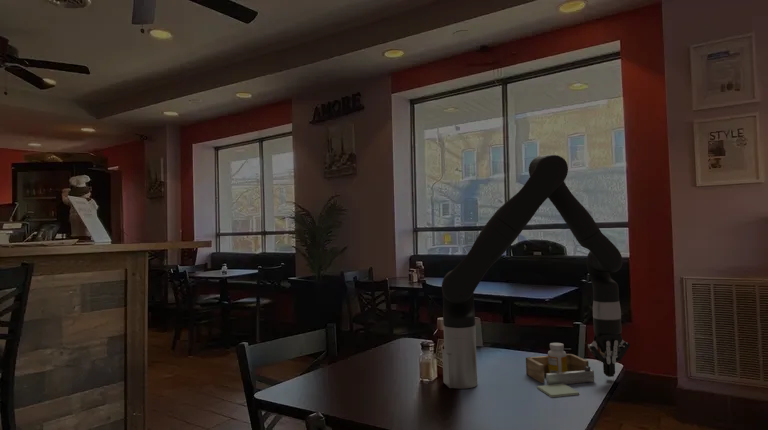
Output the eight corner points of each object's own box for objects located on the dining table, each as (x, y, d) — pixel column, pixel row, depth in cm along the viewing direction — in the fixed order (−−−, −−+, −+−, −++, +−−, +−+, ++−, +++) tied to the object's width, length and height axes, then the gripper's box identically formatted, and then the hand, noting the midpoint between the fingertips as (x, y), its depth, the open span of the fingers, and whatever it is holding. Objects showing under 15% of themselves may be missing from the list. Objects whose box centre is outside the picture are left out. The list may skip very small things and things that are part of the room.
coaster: (551, 397, 137) (551, 395, 137) (537, 388, 145) (537, 386, 145) (579, 394, 138) (579, 392, 138) (563, 385, 146) (563, 383, 146)
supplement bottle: (565, 373, 157) (563, 341, 157) (569, 379, 152) (568, 346, 152) (546, 374, 158) (545, 342, 158) (550, 379, 152) (549, 346, 153)
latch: (549, 385, 146) (548, 371, 146) (546, 384, 148) (545, 370, 148) (594, 381, 148) (593, 367, 149) (591, 379, 150) (590, 366, 150)
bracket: (540, 382, 150) (539, 365, 150) (526, 373, 159) (525, 357, 159) (589, 378, 152) (588, 361, 152) (572, 369, 161) (571, 353, 161)
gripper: (593, 320, 146) (596, 381, 145) (635, 316, 148) (638, 377, 148) (579, 315, 153) (581, 374, 153) (619, 312, 155) (621, 370, 155)
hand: (609, 375), depth 150 cm, fingers closed
